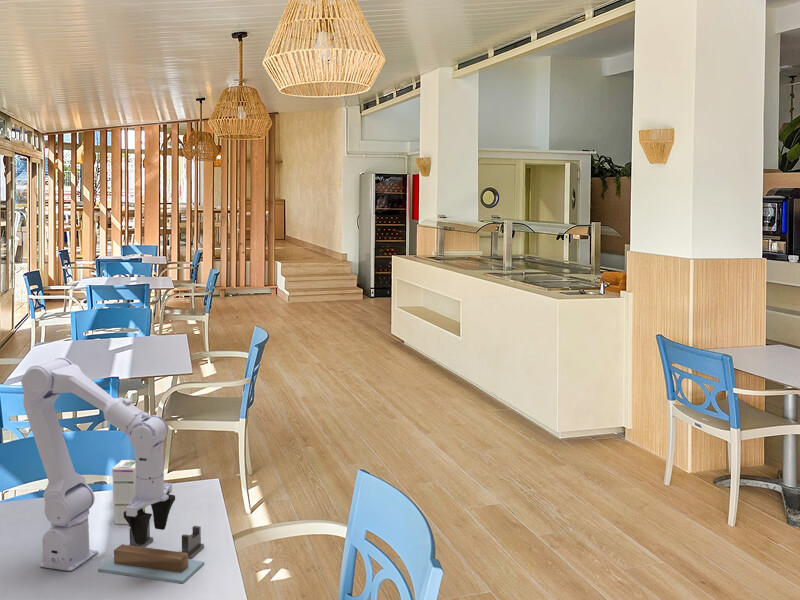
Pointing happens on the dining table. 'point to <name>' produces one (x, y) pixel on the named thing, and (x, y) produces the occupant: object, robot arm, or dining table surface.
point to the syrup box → (123, 488)
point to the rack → (189, 542)
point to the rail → (151, 558)
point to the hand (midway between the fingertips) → (150, 535)
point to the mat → (152, 571)
